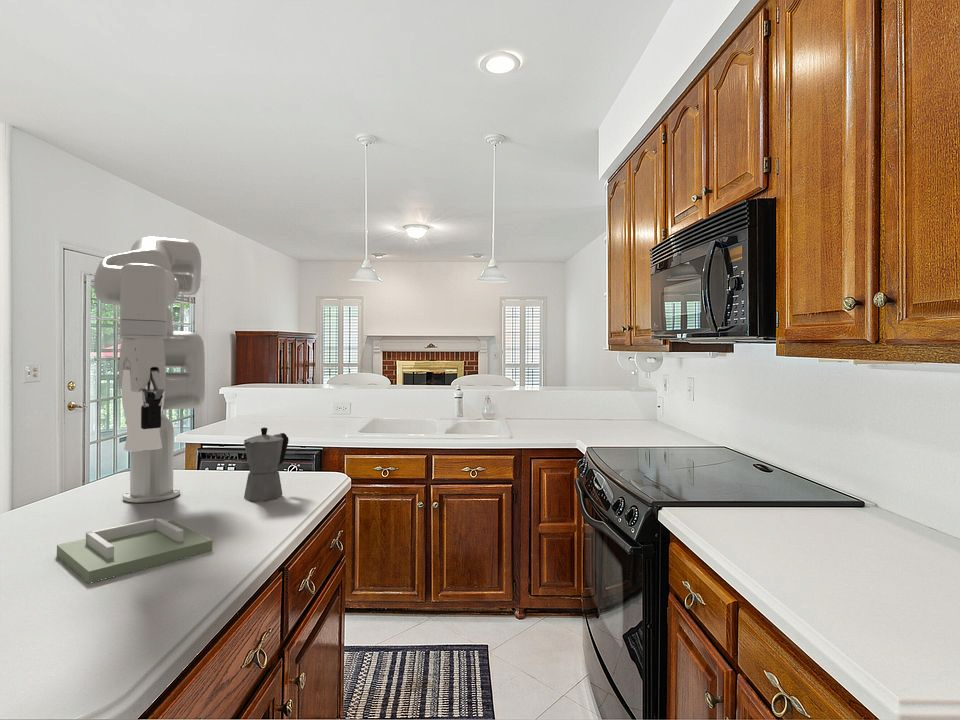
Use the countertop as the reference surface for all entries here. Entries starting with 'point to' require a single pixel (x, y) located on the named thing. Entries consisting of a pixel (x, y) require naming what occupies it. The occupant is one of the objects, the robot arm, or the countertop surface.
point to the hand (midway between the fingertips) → (143, 425)
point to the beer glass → (138, 419)
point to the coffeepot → (264, 465)
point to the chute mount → (131, 548)
